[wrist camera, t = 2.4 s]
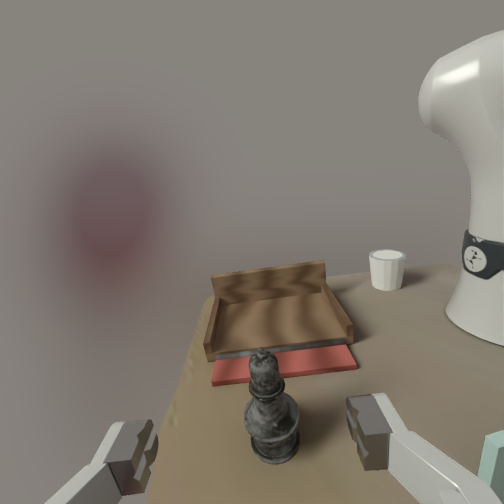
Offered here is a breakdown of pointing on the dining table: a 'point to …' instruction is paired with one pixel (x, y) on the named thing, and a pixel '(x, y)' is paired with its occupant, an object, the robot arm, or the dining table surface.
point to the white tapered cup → (387, 269)
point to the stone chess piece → (270, 411)
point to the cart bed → (277, 323)
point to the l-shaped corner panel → (493, 463)
